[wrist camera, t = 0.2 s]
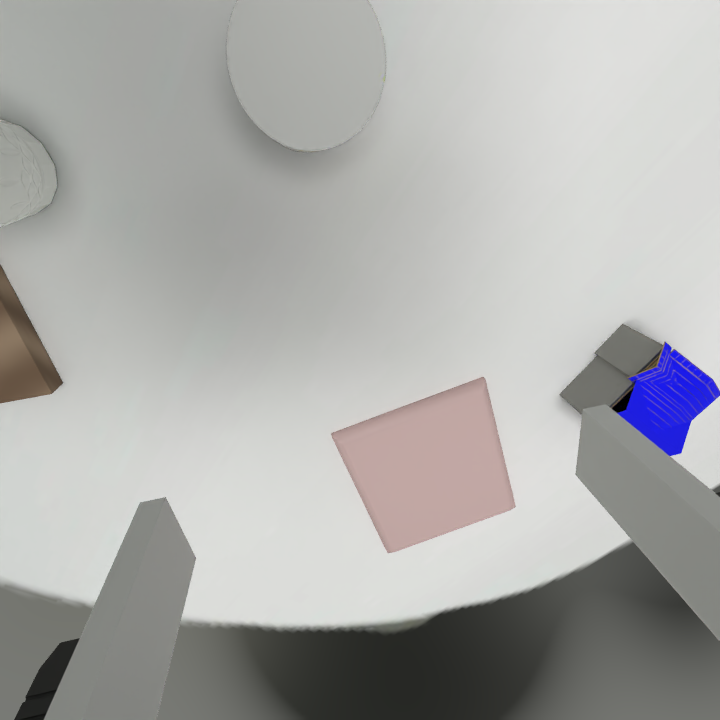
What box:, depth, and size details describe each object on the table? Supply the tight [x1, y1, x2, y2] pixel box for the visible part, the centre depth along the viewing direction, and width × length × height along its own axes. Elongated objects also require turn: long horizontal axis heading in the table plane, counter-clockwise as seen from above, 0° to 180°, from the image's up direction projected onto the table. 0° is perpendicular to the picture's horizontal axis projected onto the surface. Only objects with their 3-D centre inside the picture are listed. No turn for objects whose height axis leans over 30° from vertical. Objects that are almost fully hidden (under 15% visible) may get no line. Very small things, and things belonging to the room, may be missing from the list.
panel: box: [332, 377, 516, 553], centre depth 49 cm, size 35×33×2 cm
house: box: [560, 324, 720, 456], centre depth 45 cm, size 10×11×8 cm
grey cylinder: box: [226, 0, 386, 152], centre depth 27 cm, size 8×8×12 cm
